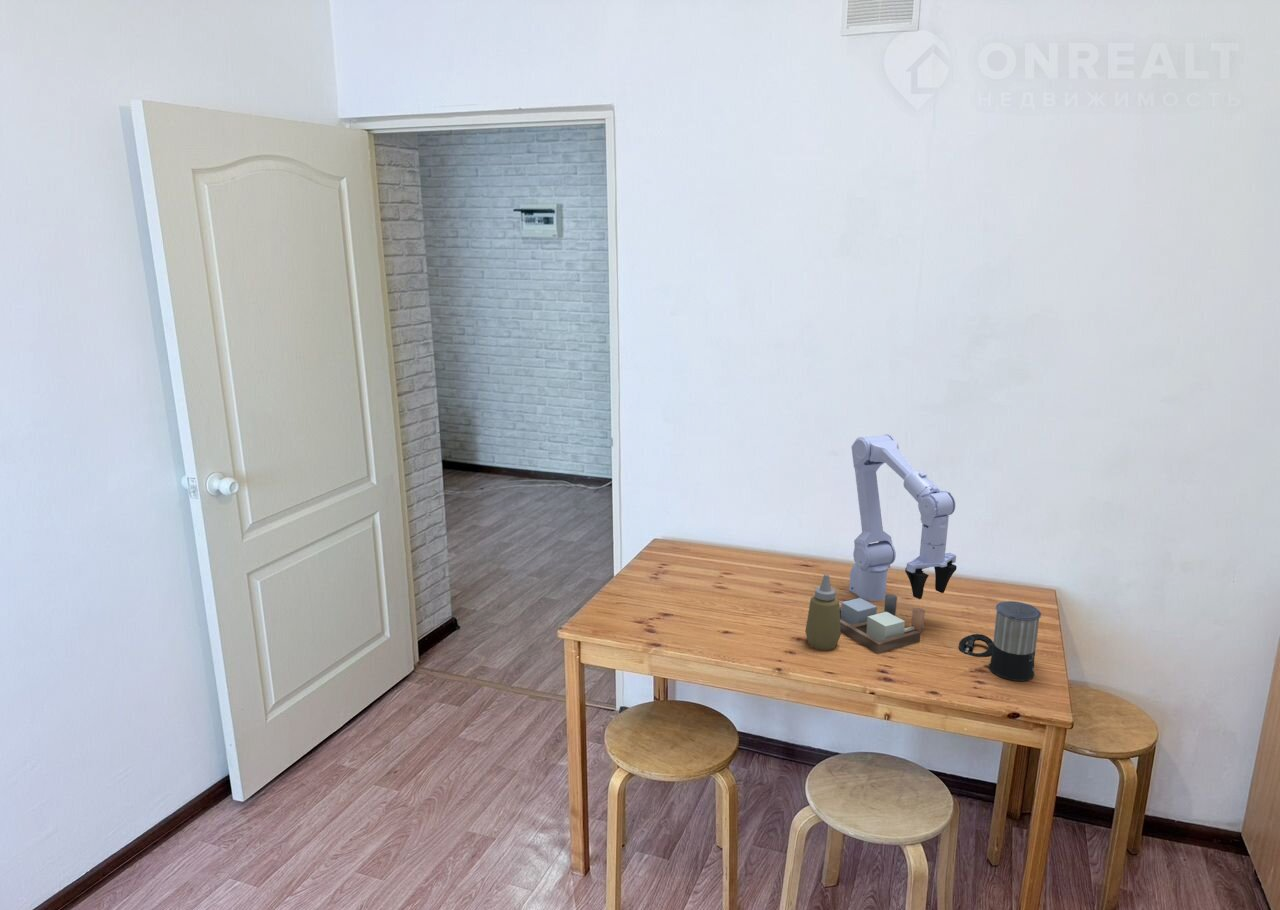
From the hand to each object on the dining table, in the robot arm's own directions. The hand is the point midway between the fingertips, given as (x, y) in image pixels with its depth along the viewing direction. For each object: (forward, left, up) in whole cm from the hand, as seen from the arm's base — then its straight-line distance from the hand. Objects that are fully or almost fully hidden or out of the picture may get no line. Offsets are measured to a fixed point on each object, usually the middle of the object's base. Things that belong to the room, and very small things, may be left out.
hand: (928, 594), depth 198 cm
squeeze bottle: (-5, -28, -10) cm, 30 cm away
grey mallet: (-9, -9, -9) cm, 15 cm away
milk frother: (+19, +1, -10) cm, 22 cm away
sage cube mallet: (0, -9, -8) cm, 12 cm away
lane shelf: (-5, -6, -9) cm, 12 cm away
